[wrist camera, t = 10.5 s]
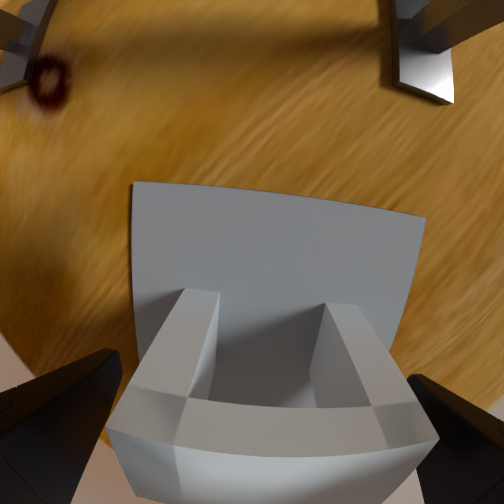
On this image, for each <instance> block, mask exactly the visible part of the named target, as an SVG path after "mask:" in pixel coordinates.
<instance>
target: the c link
mask: <svg viewBox="0 0 504 504" xmlns="http://www.w3.org/2000/svg"><path fill="white" fill-rule="evenodd" d="M219 301H220V292H213V291H205V290H197V289H189V288H185V289H184V291H183V292H182V294H181V296H180V297H179V299H178V300H177V302H176V304H175V305H174V307H173V309H172V310H171V312H170V314H169V315H168V317H167V319H166V320H165V322H164V324H163V325H162V327H161V329H160V330H159V332H158V334H157V335H156V337H155V339H154V340H153V342H152V344H151V346H150V347H149V349H148V351H147V352H146V354H145V356H144V358H143V359H142V361H141V363H140V364H139V366H138V368H137V370H136V371H135V373H134V375H133V377H132V378H131V380H130V382H129V384H128V386H127V387H126V389H125V391H124V393H123V394H122V396H121V398H120V400H119V402H118V404H117V405H116V407H115V409H114V411H113V413H112V415H111V416H110V418H109V420H108V422H107V424H106V426H105V428H106V431H107V434H108V436H109V439H110V441H111V444H112V446H113V449H114V451H115V453H116V456H117V458H118V460H119V462H120V465H121V467H122V469H123V471H124V473H125V475H126V477H127V479H128V481H129V483H130V485H131V487H132V489H133V491H134V493H135V495H136V496H138V497H142V498H146V499H149V500H153V501H157V502H161V503H165V504H381V503H382V502H383V501H385V500H386V499H387V498H388V497H389V496H390V495H391V494H392V493H393V492H394V491H395V490H396V489H397V488H398V487H399V486H400V485H401V483H403V482H404V481H405V479H406V478H407V477H408V476H409V475H410V474H411V473H412V472H413V471H414V470H415V468H416V467H417V466H418V465H419V464H420V463H421V462H422V460H423V459H424V458H425V457H426V456H427V454H428V453H429V452H430V451H431V449H432V448H433V447H434V446H435V444H436V443H437V442H438V440H439V439H440V438H439V436H438V434H437V432H436V431H435V429H434V427H433V425H432V423H431V422H430V420H429V418H428V416H427V415H426V413H425V411H424V409H423V408H422V406H421V404H420V403H419V401H418V399H417V397H416V396H415V394H414V392H413V391H412V389H411V387H410V386H409V384H408V382H407V381H406V379H405V378H404V376H403V374H402V373H401V371H400V369H399V368H398V366H397V365H396V363H395V361H394V360H393V358H392V357H391V355H390V354H389V352H388V350H387V349H386V347H385V346H384V344H383V343H382V341H381V340H380V338H379V337H378V335H377V333H376V332H375V330H374V329H373V327H372V326H371V324H370V323H369V321H368V320H367V318H366V317H365V315H364V314H363V312H362V311H361V310H360V308H359V307H358V305H350V304H336V303H325V308H324V312H323V317H322V321H321V325H320V329H319V333H318V337H317V341H316V345H315V349H314V353H313V357H312V361H311V364H310V368H309V374H310V379H311V383H312V388H313V393H314V397H315V402H316V407H317V408H284V407H266V406H253V405H242V404H232V403H224V402H216V401H209V400H208V396H209V391H210V387H211V382H212V378H213V373H214V369H215V364H216V349H217V332H218V316H219Z"/></svg>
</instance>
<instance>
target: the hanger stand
mask: <svg viewBox="0 0 504 504" xmlns="http://www.w3.org/2000/svg"><path fill="white" fill-rule="evenodd" d="M57 1H58V0H33V1H31V2H29V3H27V4H25V5H23V6H22V7H21V10H20V12H19V14H18V17H16V16H14V15H12V14H10V13H8V12H5V11H3V10H1V9H0V49H1V50H4V51H5V52H4V55H3V59H2V62H1V66H0V92H4V91H7V90H10V89H12V88H15V87H18V86H21V85H24V84H27V83H30V82H31V80H32V76H33V72H34V68H35V64H36V60H37V57H38V53H39V50H40V47H41V43H42V40H43V37H44V34H45V31H46V29H47V26H48V23H49V21H50V18H51V15H52V13H53V10H54V8H55V6H56V3H57ZM389 7H390V18H391V32H392V58H393V86H395V87H398V88H401V89H404V90H407V91H410V92H413V93H415V94H418V95H421V96H423V97H426V98H428V99H431V100H433V101H436V102H438V103H441V104H443V105H448V104H452V103H454V92H453V73H452V61H451V52H450V48H452V47H454V46H455V45H457V44H459V43H461V42H463V41H465V40H467V39H469V38H471V37H473V36H475V35H477V34H479V33H481V32H483V31H485V30H487V29H489V28H491V27H493V26H495V25H497V24H499V23H501V22H503V21H504V0H389Z"/></svg>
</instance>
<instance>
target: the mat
mask: <svg viewBox="0 0 504 504" xmlns="http://www.w3.org/2000/svg"><path fill="white" fill-rule="evenodd" d="M425 222H426V218H424V217H421V216H417V215H412V214H407V213H402V212H397V211H392V210H387V209H381V208H376V207H370V206H364V205H358V204H352V203H346V202H340V201H334V200H327V199H320V198H314V197H306V196H299V195H292V194H284V193H276V192H267V191H259V190H249V189H240V188H230V187H219V186H207V185H195V184H181V183H165V182H147V181H135V182H133V200H132V284H133V303H134V317H135V328H136V339H137V348H138V357H139V364H140V363H141V361H142V359H143V358H144V356H145V354H146V352H147V351H148V349H149V347H150V346H151V344H152V342H153V340H154V339H155V337H156V335H157V334H158V332H159V330H160V329H161V327H162V325H163V324H164V322H165V320H166V319H167V317H168V315H169V314H170V312H171V310H172V309H173V307H174V305H175V304H176V302H177V300H178V299H179V297H180V296H181V294H182V292H183V291H184V289H185V288H189V289H197V290H205V291H213V292H220V301H219V316H218V332H217V349H216V364H215V369H214V373H213V378H212V382H211V387H210V391H209V396H208V400H209V401H216V402H224V403H232V404H242V405H253V406H266V407H284V408H317V407H316V402H315V397H314V393H313V388H312V383H311V379H310V374H309V368H310V364H311V361H312V357H313V353H314V349H315V345H316V341H317V337H318V333H319V329H320V325H321V321H322V317H323V312H324V308H325V303H336V304H350V305H358V307H359V308H360V310H361V311H362V312H363V314H364V315H365V317H366V318H367V320H368V321H369V323H370V324H371V326H372V327H373V329H374V330H375V332H376V333H377V335H378V337H379V338H380V340H381V341H382V343H383V344H384V346H385V347H386V349H387V350H388V352H389V350H390V348H391V345H392V342H393V340H394V337H395V334H396V331H397V328H398V326H399V323H400V320H401V317H402V313H403V310H404V307H405V304H406V301H407V297H408V294H409V290H410V287H411V283H412V280H413V276H414V272H415V268H416V264H417V260H418V256H419V251H420V247H421V242H422V238H423V233H424V227H425Z"/></svg>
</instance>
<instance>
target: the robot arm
mask: <svg viewBox="0 0 504 504" xmlns="http://www.w3.org/2000/svg"><path fill="white" fill-rule="evenodd" d="M121 379H122V367H121V361H120V355H119V352H118V351H117V350H114V349H110V348H104V349H102V350H99V351H97V352H95V353H93V354H90V355H88V356H86V357H84V358H81V359H79V360H77V361H75V362H72V363H70V364H68V365H65V366H63V367H61V368H59V369H56V370H54V371H52V372H49V373H47V374H45V375H42V376H40V377H38V378H35V379H33V380H30V381H28V382H26V383H23V384H21V385H18V386H17V388H16V387H14V388H11V389H9V390H6V391H4V392H1V393H0V504H70V503H71V501H72V498H73V496H74V493H75V491H76V488H77V486H78V484H79V481H80V479H81V477H82V474H83V472H84V470H85V467H86V465H87V463H88V460H89V458H90V456H91V454H92V452H93V449H94V447H95V445H96V443H97V441H98V438H99V436H100V434H101V432H102V430H103V428H104V425H105V423H106V421H107V419H108V417H109V414H110V411H111V408H112V405H113V402H114V399H115V396H116V393H117V390H118V387H119V385H120V382H121ZM406 381H407V382H408V384H409V386H410V387H411V389H412V391H413V392H414V394H415V396H416V397H417V399H418V401H419V403H420V404H421V406H422V408H423V409H424V411H425V413H426V415H427V416H428V418H429V420H430V422H431V423H432V425H433V427H434V429H435V431H436V432H437V434H438V436H439V438H440V439H439V440H438V442H437V443H436V444H435V446H434V447H433V448H432V449H431V451H430V452H429V453H428V454H427V456H426V457H425V458H424V459H423V460H422V462H421V463H420V464H419V465H418V466H417V467H416V470H417V474H418V478H419V481H420V486H421V490H422V494H423V498H424V503H425V504H504V422H503V421H501V420H500V419H497V418H496V417H494V416H493V415H491V414H489V413H487V412H486V411H484V410H482V409H480V408H479V407H477V406H475V405H473V404H472V403H470V402H468V401H467V400H465V399H463V398H461V397H460V396H458V395H456V394H455V393H453V392H451V391H449V390H448V389H446V388H444V387H443V386H441V385H439V384H437V383H436V382H434V381H432V380H431V379H429V378H427V377H426V376H424V375H422V374H412V375H410V376H409V377H408V378H407V380H406Z"/></svg>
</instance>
